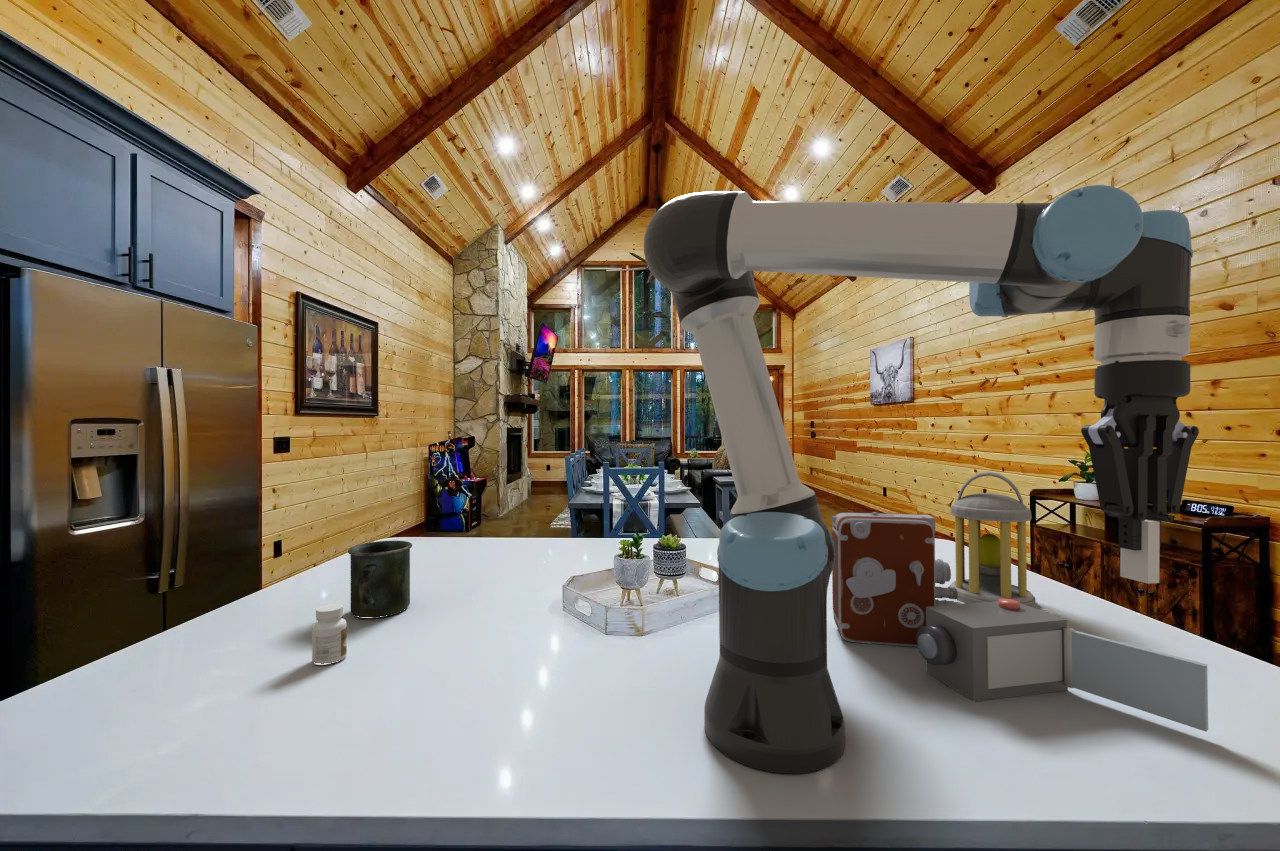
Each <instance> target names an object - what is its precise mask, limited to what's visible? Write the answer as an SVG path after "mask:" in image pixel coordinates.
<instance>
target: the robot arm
mask: <svg viewBox="0 0 1280 851" xmlns="http://www.w3.org/2000/svg"><path fill="white" fill-rule="evenodd" d="M1190 229H1191V228H1190V222H1189V219H1188V217H1187V216H1186V215H1185V214H1184V213H1182V212H1180V211H1177V210H1171V209H1155V210H1147V211H1143V210H1142V208H1141V206H1140V204H1139V203H1138V201H1137V200H1136V199H1135V198H1134V197H1133V196H1132V195H1130V194H1129V193H1127V192H1126V191H1124V190H1123V189H1121V188H1118V187H1115V186H1112V185H1106V184H1092V185H1086V186H1082V187H1079V188H1076V189H1072V190H1070V191H1068V192H1066V193H1064V194H1063V195H1061V196H1059V197H1057V198H1055V199H1054V200H1053V201H1051V202H1019V203H1018V202H1016V203H1015V202H1014V203H1013V202H914V201H913V202H909V201H908V202H907V201H905V202H903V201H901V202H899V201H895V202H892V201H889V202H888V201H886V202H885V201H883V202H882V201H787V200H786V201H778V200H777V201H771V200H766V201H765V200H764V201H763V200H761V201H760V200H757V201H756V200H754V199H753V198H752V197H751V196H750V194H749V193H748V192H747V191H742V190H741V191H740V190H737V191H736V190H735V191H734V190H733V191H729V190H728V191H725V190H723V191H722V190H720V191H719V190H718V191H715V190H714V191H701V192H692V193H688V194H684V195H680V196H677V197H675V198H673V199H671V200H669V201H668V202H666V203H664V204H663V205H662V206H661V207H660V208H659V209H658V210H657V211H656V212H655V213H654V214H653V216H652V217H651V219H650V221H649V223H648V224H647V227H646V230H645V234H644V238H643V255H644V260H645V262H646V265H647V267H648V270H649V271H650V273H651V274H652V276H653V277H654V278H655V279H656V280H657V281H658V283H660V284H661V285H662V286H663V287H665V288H667V289H668V290H669V291H670V292H671V295H672V299H673V303H674V307H675V308H676V309H675V310H676V314H677V317H678V321H679V324H680V328H681V329H682V330H684V331H685V332H687V333H690V334H692V335H693V337H694V339H695V342H696V346H697V351H698V353H699V359H700V361H701V364H702V368H703V372H704V375H705V379H706V383H707V386H708V390H709V394H710V398H711V402H712V405H713V410H714V413H715V416H716V420H717V424H718V428H719V431H720V435H721V439H722V443H723V446H724V449H725V454H726V457H727V461H728V464H729V465H728V466H729V469H730V472H731V475H732V479H733V482H734V486H735V490H736V494H737V497H736V501H735V502H734V504H733V506H732V508H731V509H730V514H731V517H732V518H731V519H729V520H728V521H727V522H726V523H724V525H723V526H722V528H721V529H720V532H719V539H718V546H717V548H716V549H717V550H716V552H717V554H716V555H717V562H718V608H719V609H718V611H719V612H718V617H719V619H718V620H719V621H718V622H719V623H718V624H719V625H718V627H719V630H718V633H719V637H718V638H719V657H718V661H717V664H716V667H715V671H714V673H713V676H712V680H711V683H710V686H709V689H708V692H707V695H706V699H705V702H704V707H703V708H704V713H703V714H704V731H705V733H706V737H707V738H708V739H709V741H710V742H711V743H712V745H713V746H714V747H715V748H717V749H718V750H719V752H721V753H722V754H723V755H725V756H726V757H728V758H730V759H732V760H734V761H735V762H738V763H740V764H742V765H745V766H748V767H749V768H750V767H751V768H754V769H757V770H761V771H766V772H772V773H776V774H777V773H778V774H802V773H803V774H804V773H811V772H815V771H818V770H822V769H824V768H827V767H829V766H831V765H832V764H834V763H835V762H837V761H838V760H839V759H840V758H841V756H842V755H843V753H844V751H845V747H846V724H845V718H844V715H843V711H842V708H841V705H840V702H839V698H838V695H837V692H836V690H835V688H834V684H833V681H832V678H831V675H830V672H829V670H828V650H827V649H828V636H827V633H828V627H827V626H828V624H827V623H828V621H827V619H828V618H827V616H828V614H827V612H828V610H827V609H828V608H827V607H828V606H827V605H828V604H827V602H828V601H827V599H828V598H827V597H828V596H827V595H828V587H829V582H830V578H831V575H832V570H833V566H834V561H835V557H834V556H835V547H834V542H833V539H832V533H831V532H830V531H829V528H828V527H827V526H826V524H825V523H824V519H823V516H822V512H821V509H820V506H819V502H818V500H817V496H816V495H817V494H816V493H815V490H813V489H811V488H810V487H808V486H807V485H805V484H803V483H802V482H801V480H800V478H799V475H798V474H799V473H798V471H797V468H796V465H795V464H796V463H795V461H794V458H793V455H792V450H791V448H790V443H789V440H788V437H787V436H788V435H787V433H786V430H785V427H784V426H785V425H784V422H783V418H782V414H781V412H780V408H779V406H778V402H777V398H776V394H775V391H774V387H773V383H772V380H771V377H770V373H769V370H768V367H767V362H766V360H765V357H764V356H765V355H764V352H763V348H762V345H761V341H760V339H759V334H758V331H757V328H756V324H755V321H754V315H755V314H756V312H757V310H758V308H759V307H760V304H761V301H760V298H759V294H758V291H757V288H756V283H755V280H754V278H755V272H764V273H765V272H766V273H782V274H783V273H784V274H803V275H805V274H806V275H821V276H823V275H824V276H838V277H839V276H840V277H841V276H842V277H843V276H844V277H861V278H864V277H865V278H877V279H897V280H918V281H920V280H921V281H934V282H935V281H937V282H955V283H957V282H958V283H969V286H968V288H969V289H968V291H969V292H968V297H969V305H970V310H971V312H972V313H973V314H974V315H975V316H977V317H981V318H982V317H1002V318H1008V317H1013V316H1024V315H1037V314H1039V315H1040V314H1041V315H1042V314H1051V313H1052V314H1054V313H1065V312H1066V313H1067V312H1086V311H1094V312H1093V313H1094V317H1095V318H1094V335H1093V336H1094V339H1093V340H1094V343H1093V360H1095V361H1096V362H1100V365H1097V366H1096V368H1094V393H1093V394H1094V396H1095V397H1096V398H1098V399H1100V400H1104V401H1103V402H1104V403H1103V407H1102V408H1101V412H1100V419H1099V420H1098V421H1097V422H1096V423H1095V424H1091V425H1090V424H1087V425H1086V424H1085V425H1083V426H1082V427H1081V428H1080V432H1081V435H1082V437H1083V438H1084V440H1085V443H1086V444H1087V446H1088V449H1089V450H1088V451H1089V453H1090V454H1089V456H1090V459H1091V460H1090V461H1091V465H1092V471H1093V476H1094V481H1095V485H1096V486H1095V487H1096V492H1097V497H1098V501H1099V508H1100V509H1101V511H1102V512H1104V513H1106V515H1107V516H1109V517H1113V518H1114V517H1115V518H1117V521H1118V546H1119V548H1120V549H1119V551H1120V557H1119V559H1120V560H1119V561H1120V562H1119V564H1120V565H1119V567H1120V568H1119V572H1120V574H1119V577H1122V578H1124V579H1128V580H1132V581H1137V582H1140V583H1145V584H1148V585H1149V584H1159V583H1160V548H1161V544H1162V536H1161V535H1162V522H1163V521H1164V522H1170V523H1171V522H1173V521H1174V520H1175V518H1176V516H1175V515H1177V514H1178V513H1179V511H1180V509H1181V505H1182V504H1181V503H1182V499H1183V493H1184V489H1185V483H1186V478H1187V472H1188V467H1189V463H1190V457H1191V452H1192V447H1193V446H1194V444H1195V442H1196V440H1197V438H1198V436H1199V433H1200V430H1199V428H1198V426H1195V425H1185V424H1184V423H1183V422H1182V421H1181V420H1180V418H1181V412H1180V410H1179V408H1178V404H1177V399H1178V398H1184V397H1187V396H1188V395H1189V394H1190V393H1191V363H1189V362H1188V361H1187V360H1182V358H1183V357H1187V355H1190V353H1191V343H1190V342H1191V337H1190V336H1191V335H1190V333H1191V332H1190V331H1191V330H1192V326H1191V323H1190V322H1191V321H1190V316H1191V309H1190V308H1191V307H1190V306H1191V303H1190V302H1191V276H1192V258H1193V256H1194V250H1193V248H1192V234H1191V230H1190ZM1173 514H1174V515H1173Z"/></svg>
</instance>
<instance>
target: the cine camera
mask: <svg viewBox="0 0 1280 851" xmlns="http://www.w3.org/2000/svg"><path fill="white" fill-rule="evenodd" d="M831 518H832V519H831V520H832V528H831V529H832V530H831V536H832V539H833V542H834V547H835V556H834V557H835V561H834V566H833V570H832V573H831V575H832V581H831V583H832V611H833V612H832V613H833V619H834V622H835V626H836V628H837V629H838V632H839V634H840V636H841V638H842V639H843V640H845V641H847V642H850V643H858V644H859V643H860V644H873V645H885V646H902V647H915V648H916V647H917V648H918V645H917V632H918V630H919V629H920V628H921V627H923V626H926V607H929V606H942V605H955V604H965V603H963V602H961V601H953V600H956V599H957V598H958V592H957V589H956V588H955V587H949V586H948V587H943V586H942V587H941V586H936V584H939V585H945V584H946V582H947V583H948V582H950V581H951V578H952V571H951V570H952V569H951V566H950V564H949V562H946V561H945V562H944V560H943V559H941V558H937V559H936V543H935V542H936V541H935V534H936V517H933V516H931V515H929V514H911V513H910V514H908V513H888V512H887V513H882V512H881V513H879V512H877V511H873V512H840V513H837V514H836V515H832V517H831ZM939 599H941V600H939ZM948 599H950V600H948Z"/></svg>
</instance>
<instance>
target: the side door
mask: <svg viewBox="0 0 1280 851" xmlns="http://www.w3.org/2000/svg"><path fill="white" fill-rule="evenodd" d="M1208 680H1209V678H1208V664H1207V663H1202V662H1199V661H1195V660H1192V659H1187V658H1184V657H1180V656H1175V655H1172V654H1170V653H1169V654H1168V653H1165V652H1162V651H1161V652H1160V651H1156V650H1152V649H1150V648H1149V649H1148V648H1144V647H1140V646H1138V645H1133V644H1130V643H1126V642H1121V641H1118V640H1115V639H1114V640H1113V639H1111V638H1110V639H1109V638H1106V637H1102V636H1098V635H1094V634H1090V633H1086V632H1082V631H1078V630H1075V628H1072V627H1067V628H1064V685H1065V686H1066V687H1068V689H1076V690H1078V691H1082V692H1085V693H1089V694H1091V695H1094V696H1097V697H1100V698H1103V699H1107V700H1108V701H1109V700H1110V701H1113V702H1115V703H1118V704H1121V705H1124V706H1128V707H1129V708H1130V707H1131V708H1134V709H1137V710H1138V711H1142V712H1145V713H1149V714H1151V715H1154V716H1157V717H1160V718H1163V719H1166V720H1169V721H1171V722H1172V721H1173V722H1175V723H1178V724H1182V725H1184V726H1187V727H1191V728H1194V729H1197V730H1200V731H1202V732H1206V733H1207V732H1208V731H1209V696H1208V695H1209V693H1208V692H1209V691H1208V686H1209V685H1208V683H1209V682H1208Z"/></svg>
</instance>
